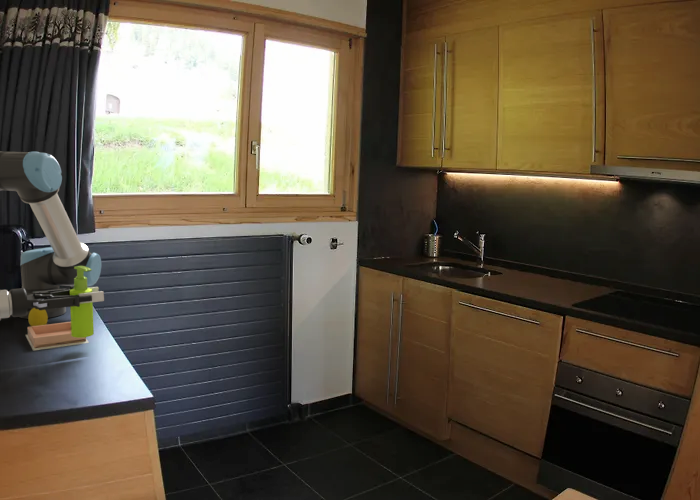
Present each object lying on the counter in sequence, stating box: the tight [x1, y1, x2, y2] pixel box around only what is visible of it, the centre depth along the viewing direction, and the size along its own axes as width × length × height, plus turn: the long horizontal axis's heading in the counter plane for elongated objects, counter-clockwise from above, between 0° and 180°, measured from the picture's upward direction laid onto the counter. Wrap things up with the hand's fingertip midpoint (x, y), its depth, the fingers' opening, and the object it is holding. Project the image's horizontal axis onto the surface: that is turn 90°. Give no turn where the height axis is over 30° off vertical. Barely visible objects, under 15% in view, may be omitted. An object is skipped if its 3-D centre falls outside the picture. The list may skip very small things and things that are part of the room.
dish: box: [27, 321, 87, 348], centre depth 189 cm, size 14×14×3 cm
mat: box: [25, 334, 90, 351], centre depth 189 cm, size 18×15×1 cm
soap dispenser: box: [69, 266, 95, 338], centre depth 177 cm, size 6×7×20 cm
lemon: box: [28, 308, 49, 327], centre depth 199 cm, size 6×6×8 cm
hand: (100, 293), depth 180 cm, fingers closed on soap dispenser, 6 cm apart
